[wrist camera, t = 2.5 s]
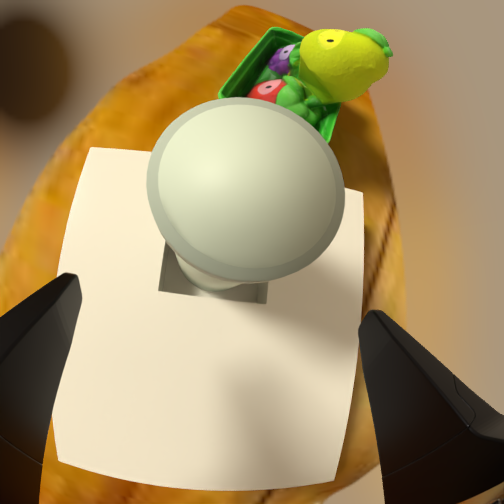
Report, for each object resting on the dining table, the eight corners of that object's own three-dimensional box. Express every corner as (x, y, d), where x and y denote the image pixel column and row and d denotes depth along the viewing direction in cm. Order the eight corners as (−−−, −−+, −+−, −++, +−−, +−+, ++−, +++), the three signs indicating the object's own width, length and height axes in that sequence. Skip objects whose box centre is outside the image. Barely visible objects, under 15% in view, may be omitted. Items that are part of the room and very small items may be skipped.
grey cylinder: (209, 314, 17) (238, 328, 6) (154, 245, 17) (109, 158, 6) (274, 260, 18) (376, 201, 8) (221, 196, 19) (261, 76, 8)
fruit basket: (259, 61, 23) (293, -31, 12) (341, 99, 24) (401, 22, 13) (206, 141, 20) (228, 18, 9) (312, 190, 21) (403, 103, 10)
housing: (314, 460, 17) (333, 480, 14) (75, 440, 14) (58, 460, 11) (339, 208, 21) (362, 192, 18) (103, 171, 18) (90, 147, 15)
